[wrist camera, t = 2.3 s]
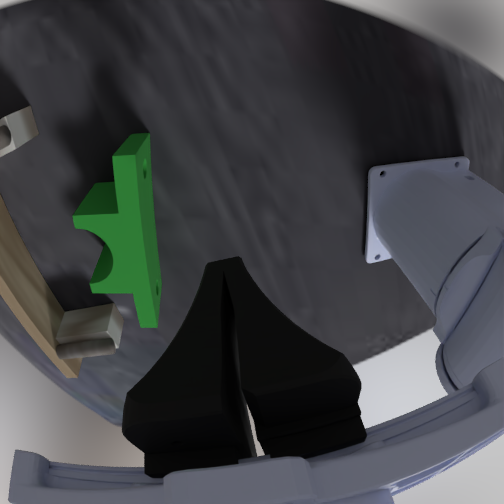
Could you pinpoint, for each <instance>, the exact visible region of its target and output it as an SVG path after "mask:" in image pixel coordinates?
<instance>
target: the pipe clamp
mask: <svg viewBox="0 0 504 504" xmlns="http://www.w3.org/2000/svg"><path fill="white" fill-rule="evenodd" d="M112 159H113V170H114V179H115V182H104V183H95V184H94V186H93V187H92V188H91V190H90V191H89V193H88V194H87V195H86V197H85V198H84V200H83V201H82V202H81V204H80V205H79V207H78V208H77V210H76V211H75V213H74V214H73V221H74V225H75V228H79V229H85V230H88V231H91V232H93V233H95V234H96V235H98V236H99V237H100V238H102V239H103V240H104V241H105V245H104V248H103V250H102V253H101V255H100V258H99V260H98V263H97V265H96V268H95V270H94V273H93V276H92V278H91V281H90V287H91V290H92V293H133V296H134V301H135V305H136V310H137V314H138V318H139V322H140V326H141V328H157V327H158V316H159V306H160V297H161V288H162V281H161V273H160V265H159V257H158V248H157V238H156V228H155V216H154V204H153V190H152V174H151V154H150V133H139V134H131V135H130V136H129V137H128V138H127V139H126V141H125V142H124V143H123V144H122V145H121V146H120V148H119V149H118V150H117V151H116V152H115V154H114V155H113V156H112Z"/></svg>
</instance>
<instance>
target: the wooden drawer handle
mask: <svg viewBox="0 0 504 504" xmlns="http://www.w3.org/2000/svg"><path fill="white" fill-rule="evenodd" d="M37 135H39V132H38V129H37V126H36V123H35V120H34V116H33V113H32V109H31V106H28V107H26V108H24V109H21V110H19V111H16V112H14V113H12V114H10V115H7V116H5V117H3V118H2V119H0V157H1V156H3V155H5V154H7V153H9V152H11V151H13V150H15V149H17V148H18V147H20V146H21V145H23V144H24V143H26V142H27V141H29V140H31V139H32V138H34V137H35V136H37ZM0 294H1V296H2V297H3V299H4V300H5V302H6V303H7V305H8V306H9V307H10V309H11V310H12V312H13V313H14V314H15V316H16V317H17V318H18V320H19V321H20V322H21V324H22V325H23V326H24V328H25V329H26V330H27V332H28V333H29V334H30V335H31V337H32V338H33V339H34V340H35V342H36V343H37V344H38V345H39V347H40V348H41V349H42V350H43V351H44V352H45V354H46V355H47V356H48V357H49V358H50V359H51V361H52V362H53V363H54V364H55V365H56V366H57V367H58V368H59V370H60V371H61V372H62V373H63V374H64V375H65V376H66V377H67V378H76V377H78V375H79V370H80V366H81V362H82V357H91V356H100V355H109V354H114V353H115V351H116V348H119V344H120V338H121V333H122V327H123V322H124V319H123V318H122V316H121V314H120V313H119V311H118V309H117V307H116V306H115V304H114V303H111V304H106V305H100V306H95V307H89V308H84V309H78V310H73V311H67V312H65V311H64V310H63V308H62V307H61V305H60V304H59V302H58V301H57V299H56V298H55V296H54V294H53V293H52V291H51V290H50V288H49V286H48V285H47V283H46V281H45V280H44V278H43V276H42V275H41V273H40V271H39V270H38V268H37V266H36V264H35V263H34V261H33V259H32V257H31V256H30V254H29V252H28V250H27V248H26V246H25V244H24V243H23V241H22V239H21V237H20V235H19V233H18V231H17V229H16V227H15V225H14V223H13V221H12V219H11V216H10V214H9V212H8V210H7V208H6V206H5V203H4V201H3V199H2V197H1V194H0Z"/></svg>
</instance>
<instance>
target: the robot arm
mask: <svg viewBox="0 0 504 504" xmlns="http://www.w3.org/2000/svg"><path fill="white" fill-rule="evenodd" d="M455 163H456V165H455ZM468 169H469V159H468V158H466V157H464V156H462V157H451V158H441V159H431V160H422V161H413V162H405V163H397V164H389V165H381V166H374V167H372V168H371V169H370V170H369V173H368V206H367V229H366V246H365V260H366V261H367V263H374V262H378V261H382V260H386V259H390V258H393V259H394V261H395V262H396V263H397V264H398V266H399V267H400V268H401V270H402V271H403V272H404V274H405V275H406V276H407V278H408V279H409V280H410V282H411V283H412V284H413V286H414V287H415V288H416V290H417V291H418V293H419V294H420V295H421V297H422V298H423V299H424V301H425V302H426V304H427V305H428V306H429V308H430V309H431V311H432V312H433V314H434V315H435V317H436V318H437V322H436V325H435V327H434V328H433V331H434V333H435V334H436V336H437V337H438V339H439V341H440V342H441V344H440V346H439V348H438V350H437V353H436V361H435V363H436V370H437V374H438V376H439V379H440V382H441V384H442V386H443V387H444V389H445V390H446V392H447V393H448V395H447V396H445V397H443V398H441V399H439V400H437V401H434V402H432V403H430V404H428V405H426V406H423V407H421V408H419V409H416V410H414V411H412V412H409V413H407V414H404V415H402V416H399V417H397V418H395V419H392V420H389V421H386V422H384V423H381V424H378V425H376V426H373V427H370V428H367V429H365V428H364V425H363V422H362V420H361V417H360V415H361V410H360V408H359V405H358V399H359V395H360V391H361V381H360V379H359V376H358V375H357V373H356V372H355V370H354V368H353V366H352V365H351V363H350V362H349V361H348V359H347V358H346V357H345V356H344V354H343V353H341V352H339V351H337V350H335V349H333V348H331V347H329V346H328V345H326V344H324V343H322V342H321V341H319V340H318V339H316V338H314V337H313V336H311V335H310V334H308V333H307V332H306V331H304V330H303V329H301V328H300V327H299V326H297V325H296V324H295V323H293V322H292V321H291V320H290V319H289V318H288V317H286V316H285V315H284V314H283V313H282V312H281V311H280V310H279V309H278V308H277V307H276V306H275V305H274V304H273V303H272V302H271V301H270V300H269V299H268V298H267V297H266V296H265V294H264V293H263V292H262V291H261V290H260V288H259V287H258V286H257V284H256V283H255V282H254V280H253V279H252V277H251V276H250V274H249V273H248V271H247V269H246V268H245V266H244V263H243V261H242V258H240V257H239V256H238V257H233V258H228V259H223V260H219V261H214V262H209V263H207V265H206V267H205V271H204V274H203V277H202V280H201V283H200V286H199V289H198V291H197V294H196V296H195V299H194V301H193V304H192V306H191V308H190V310H189V312H188V314H187V316H186V318H185V320H184V322H183V324H182V326H181V328H180V329H179V331H178V333H177V334H176V336H175V337H174V339H173V340H172V342H171V343H170V345H169V346H168V348H167V349H166V351H165V352H164V353H163V355H162V356H161V357H160V359H159V360H158V361H157V362H156V363H155V365H154V366H153V367H152V368H151V369H150V371H149V372H148V373H147V374H146V375H145V376H144V377H143V378H142V379H141V380H140V381H139V382H138V383H137V384H136V385H135V386H134V387H133V388H132V389H131V390H130V391H129V392H127V396H126V400H125V404H124V410H123V422H122V433H123V435H124V436H125V437H126V439H127V440H128V441H130V442H131V443H132V444H133V445H135V446H136V447H137V448H139V449H140V450H141V451H143V452H144V453H145V454H144V455H145V456H144V459H145V460H144V464H145V465H144V467H104V466H89V465H77V464H67V463H59V462H51V461H49V460H47V459H46V458H45V457H43V456H41V455H39V454H36V453H33V452H28V451H22V450H15V454H14V460H13V466H12V473H11V480H10V488H9V498H8V500H9V502H10V503H12V504H394V501H393V498H392V496H394V495H396V494H398V493H401V492H403V491H405V490H407V489H410V488H412V487H414V486H416V485H418V484H420V483H422V482H424V481H426V480H428V479H430V478H432V477H434V476H436V475H438V474H440V473H441V472H443V471H445V470H447V469H448V468H450V467H452V466H454V465H456V464H457V463H459V462H461V461H463V460H464V459H465V458H467V457H469V456H471V455H472V454H474V453H476V452H477V451H479V450H480V449H482V448H483V447H485V446H487V445H488V444H490V443H491V442H492V441H494V440H496V439H497V438H498V437H500V436H501V435H503V434H504V194H503V193H502V192H500V191H499V190H497V189H496V188H494V187H493V186H492V185H490V184H489V183H487V182H486V181H484V180H483V179H481V178H480V177H478V176H477V175H475V174H474V173H472V172H471V171H469V170H468ZM382 171H384V173H383V174H382V175H381V176H380V173H381V172H382ZM376 255H377V256H376ZM375 256H376V257H375ZM246 402H247V405H248V407H249V410H250V412H251V415H252V417H253V420H254V424H255V430H256V435H257V440H258V441H259V442H260V445H261V447H262V449H263V451H264V454H265V455H264V456H258V457H257V453H256V449H255V444H254V439H253V435H252V430H251V425H250V420H249V416H248V410H247V405H246Z"/></svg>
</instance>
